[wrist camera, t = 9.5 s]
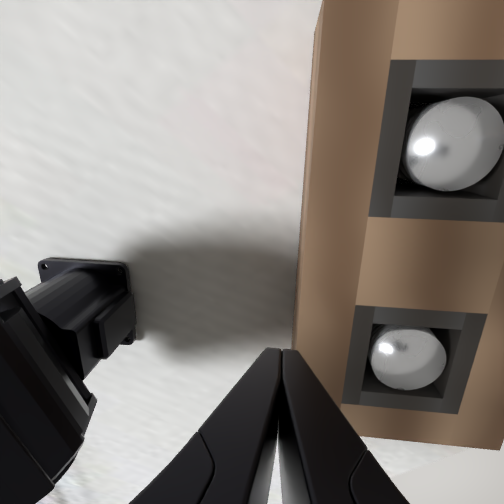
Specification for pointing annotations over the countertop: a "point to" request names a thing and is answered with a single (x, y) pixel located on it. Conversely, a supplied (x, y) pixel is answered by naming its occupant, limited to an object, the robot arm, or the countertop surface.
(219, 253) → the countertop surface
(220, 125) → the countertop surface
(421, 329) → the peg tall
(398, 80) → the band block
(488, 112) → the peg short
